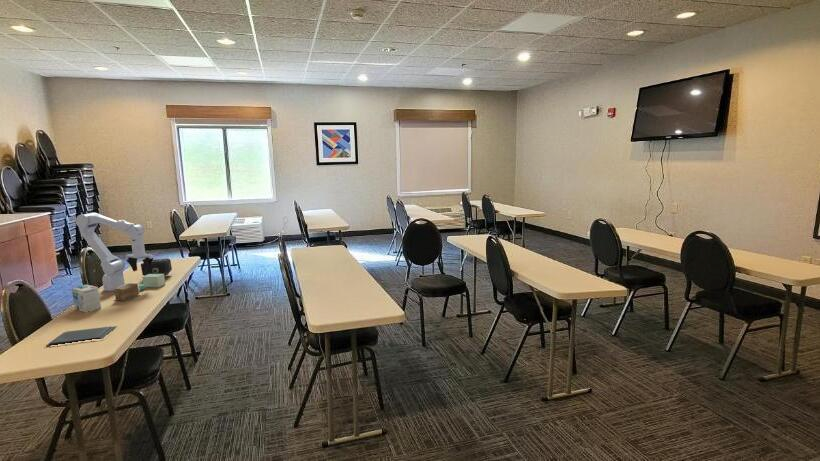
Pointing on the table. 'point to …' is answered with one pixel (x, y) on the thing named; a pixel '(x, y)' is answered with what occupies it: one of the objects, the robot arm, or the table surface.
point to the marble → (141, 287)
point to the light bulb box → (86, 298)
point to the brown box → (126, 291)
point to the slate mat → (128, 299)
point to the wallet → (81, 335)
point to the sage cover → (153, 280)
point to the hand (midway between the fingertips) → (141, 270)
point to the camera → (158, 267)
